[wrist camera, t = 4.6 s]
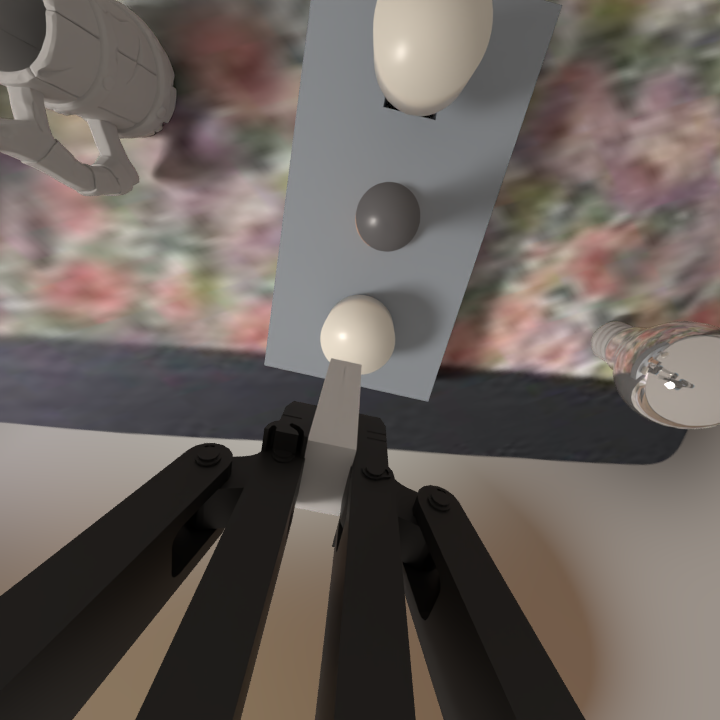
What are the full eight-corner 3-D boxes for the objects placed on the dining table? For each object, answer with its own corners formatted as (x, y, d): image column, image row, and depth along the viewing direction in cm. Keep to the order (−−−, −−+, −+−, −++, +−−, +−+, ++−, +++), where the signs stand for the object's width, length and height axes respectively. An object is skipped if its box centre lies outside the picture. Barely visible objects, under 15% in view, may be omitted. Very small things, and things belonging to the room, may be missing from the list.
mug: (174, 16, 24) (-9, -171, 12) (193, 205, 28) (70, 193, 17) (64, 8, 24) (-214, -183, 13) (100, 198, 28) (-82, 181, 17)
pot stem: (350, 242, 25) (340, 250, 18) (363, 181, 23) (357, 163, 16) (405, 255, 25) (415, 267, 18) (420, 195, 23) (439, 183, 16)
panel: (277, 348, 32) (264, 365, 28) (328, -15, 23) (318, -61, 19) (422, 381, 33) (427, 401, 29) (532, 40, 23) (562, 5, 19)
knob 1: (327, 336, 31) (314, 365, 25) (338, 279, 29) (327, 295, 23) (383, 348, 31) (384, 381, 25) (398, 293, 29) (403, 313, 23)
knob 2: (366, 122, 22) (361, 82, 16) (385, 22, 21) (389, -71, 14) (443, 142, 23) (469, 110, 16) (469, 44, 21) (511, -38, 14)
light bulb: (579, 385, 32) (687, 471, 21) (546, 326, 30) (646, 387, 19) (656, 344, 30) (817, 415, 19) (626, 279, 28) (786, 316, 17)
